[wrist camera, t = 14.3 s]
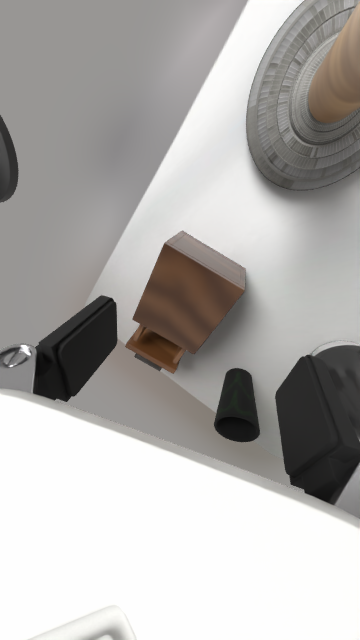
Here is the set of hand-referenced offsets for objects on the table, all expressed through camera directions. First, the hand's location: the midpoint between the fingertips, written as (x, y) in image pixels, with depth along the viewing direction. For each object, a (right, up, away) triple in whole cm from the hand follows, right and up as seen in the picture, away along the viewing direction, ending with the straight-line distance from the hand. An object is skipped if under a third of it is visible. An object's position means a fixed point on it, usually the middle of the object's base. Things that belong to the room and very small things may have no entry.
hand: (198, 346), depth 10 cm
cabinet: (+2, +8, +26) cm, 27 cm away
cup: (+12, -11, +35) cm, 39 cm away
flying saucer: (+14, +24, +11) cm, 30 cm away
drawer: (-3, 0, +31) cm, 31 cm away
